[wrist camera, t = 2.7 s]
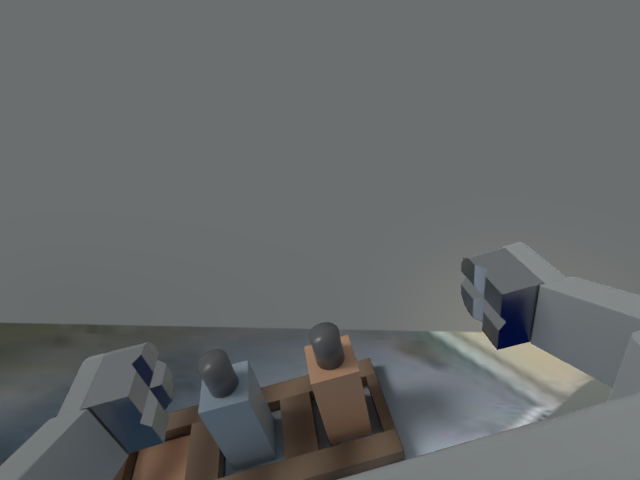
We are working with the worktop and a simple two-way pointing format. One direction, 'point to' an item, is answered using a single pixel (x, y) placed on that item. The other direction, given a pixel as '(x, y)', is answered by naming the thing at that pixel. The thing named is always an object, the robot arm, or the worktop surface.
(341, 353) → the terracotta plug
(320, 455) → the plug dock
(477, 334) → the worktop surface
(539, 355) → the worktop surface
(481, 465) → the robot arm
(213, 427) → the slate plug
